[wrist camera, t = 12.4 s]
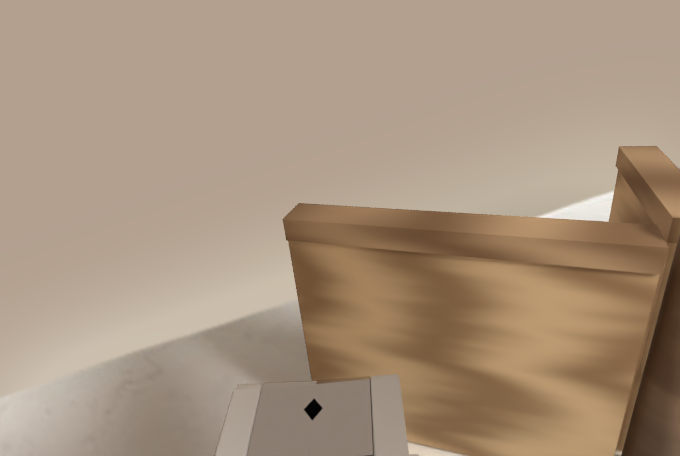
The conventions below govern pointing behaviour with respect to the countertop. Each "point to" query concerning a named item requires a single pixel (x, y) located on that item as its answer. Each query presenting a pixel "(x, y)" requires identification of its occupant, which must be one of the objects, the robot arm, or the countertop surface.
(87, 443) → the countertop surface
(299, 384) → the robot arm
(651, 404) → the fence post and fixed panel
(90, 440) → the countertop surface
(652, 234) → the hinged fence panel
